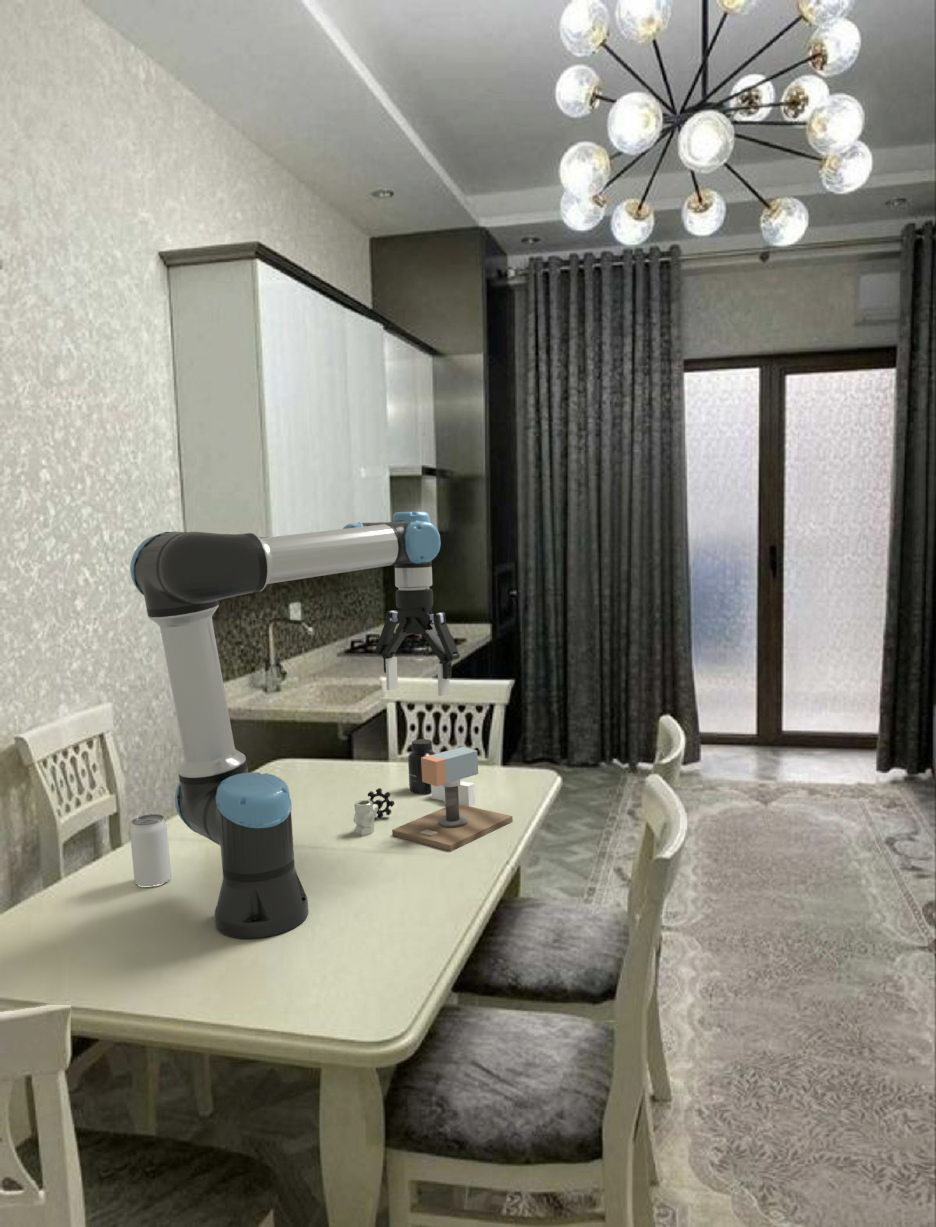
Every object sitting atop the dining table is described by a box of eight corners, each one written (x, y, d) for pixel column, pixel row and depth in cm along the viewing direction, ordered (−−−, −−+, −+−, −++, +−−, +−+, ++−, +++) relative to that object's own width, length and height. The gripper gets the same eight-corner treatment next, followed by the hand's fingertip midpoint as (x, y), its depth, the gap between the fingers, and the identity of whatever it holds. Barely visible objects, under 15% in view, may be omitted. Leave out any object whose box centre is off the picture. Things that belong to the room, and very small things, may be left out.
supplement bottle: (405, 794, 215) (402, 744, 214) (415, 785, 222) (412, 737, 220) (432, 795, 213) (430, 745, 212) (442, 786, 220) (439, 738, 218)
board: (451, 851, 178) (448, 805, 177) (392, 835, 188) (389, 792, 187) (512, 821, 193) (510, 779, 192) (455, 808, 203) (453, 768, 202)
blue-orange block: (478, 780, 191) (477, 750, 190) (437, 793, 184) (436, 761, 183) (463, 776, 195) (462, 746, 194) (422, 788, 188) (421, 757, 187)
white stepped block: (486, 809, 203) (485, 784, 203) (437, 815, 200) (436, 790, 200) (468, 790, 218) (466, 766, 217) (421, 796, 215) (420, 772, 214)
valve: (376, 837, 188) (395, 817, 199) (374, 806, 187) (393, 788, 198) (346, 835, 189) (366, 816, 201) (344, 805, 189) (365, 787, 200)
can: (178, 875, 172) (173, 814, 170) (158, 890, 166) (152, 826, 164) (148, 873, 173) (143, 812, 172) (127, 887, 167) (121, 824, 166)
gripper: (475, 588, 180) (477, 693, 182) (380, 585, 195) (383, 683, 197) (452, 591, 174) (455, 700, 176) (355, 588, 189) (360, 689, 191)
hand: (417, 691), depth 187 cm, fingers open, 13 cm apart
